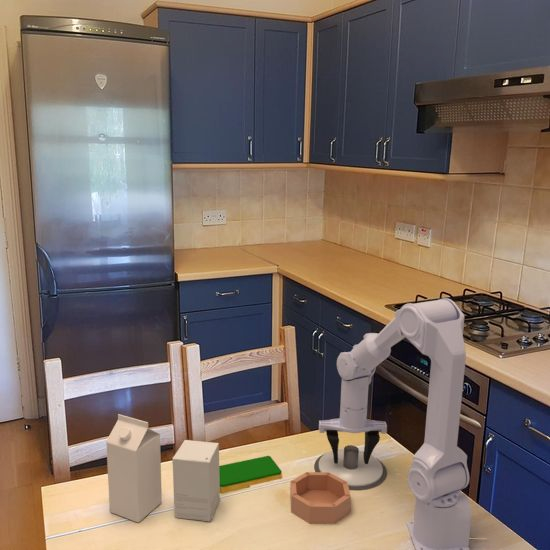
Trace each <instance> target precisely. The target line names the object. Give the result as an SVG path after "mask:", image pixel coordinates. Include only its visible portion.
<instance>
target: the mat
mask: <svg viewBox="0 0 550 550" xmlns="http://www.w3.org/2000/svg"><path fill="white" fill-rule="evenodd" d="M326 453H327V452H325V453H323V454H321V455H320V456H319V457H318V458H317V459H316V460H315V462H314V465H313V466H314V467H313V469H314V472H320V471H319V460H320V458H321V457H322V456H323V455H324V454H326ZM375 458H376V459H377V460H378V461H379V462H380V463H381V465H382V468H383V473H382V477H381V479H380V480H379V481H378V482H376V483H374V484H372V485H370V486H366V487H349V491H366V490H367V491H368V490H372V489H374V488H376V487H379V486H380V485H382V484H383V483H384V482H385V481H386V479H387V476H388V471H387V468H386V466H385V464H384V463H383V462H382V461H380V459H378V458H377V457H375Z"/></svg>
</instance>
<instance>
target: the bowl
mask: <svg viewBox="0 0 550 550" xmlns="http://www.w3.org/2000/svg"><path fill="white" fill-rule="evenodd" d="M289 489H290V491H289V492H290V494H289V499H290V500H289V501H290V513H291V514H293V515H295V516H297V518H299V519H301V520H303V521H304V522H306V523H308V524H310V525H311V524H313V525H335V524H336V523H339V521H341V520H342V519H344V518H345V517H347V516H348V515H349V514H350V513H351V500H352V499H351V498H352V497H351V492H350V491H351V490H349V487H348V483H347V482H346V481H344V480H343V479H341V478H339V477H337V476H335V475H333V474H331V473H329V472H315V471H309V472H308V471H306V472H304V473H302V474H300V475H299V476H297V477H295V478H294V479H293V480H291V481H290V487H289Z"/></svg>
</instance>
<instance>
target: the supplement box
mask: <svg viewBox="0 0 550 550" xmlns="http://www.w3.org/2000/svg"><path fill="white" fill-rule="evenodd" d="M171 459H172V476H173V478H172V479H173V480H172V481H173V483H172V484H173V505H174V506H173V507H174V511H173V512H174V518H175V519H176V518H178V519H187V520H192V521H193V520H195V521H203V522H211V520H212V518H213V516H214V513H215V511H216V510H217V507H218V504H219V502H220V500H221V496H220V495H221V493H220V480H219V466H220V443H219V442H212V441H211V442H210V441H201V440H191V439H184V440H183V442H182V444H181V445H180V447H178V449H177V451H176V452H175V454H174V455H173V457H172V458H171Z"/></svg>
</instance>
